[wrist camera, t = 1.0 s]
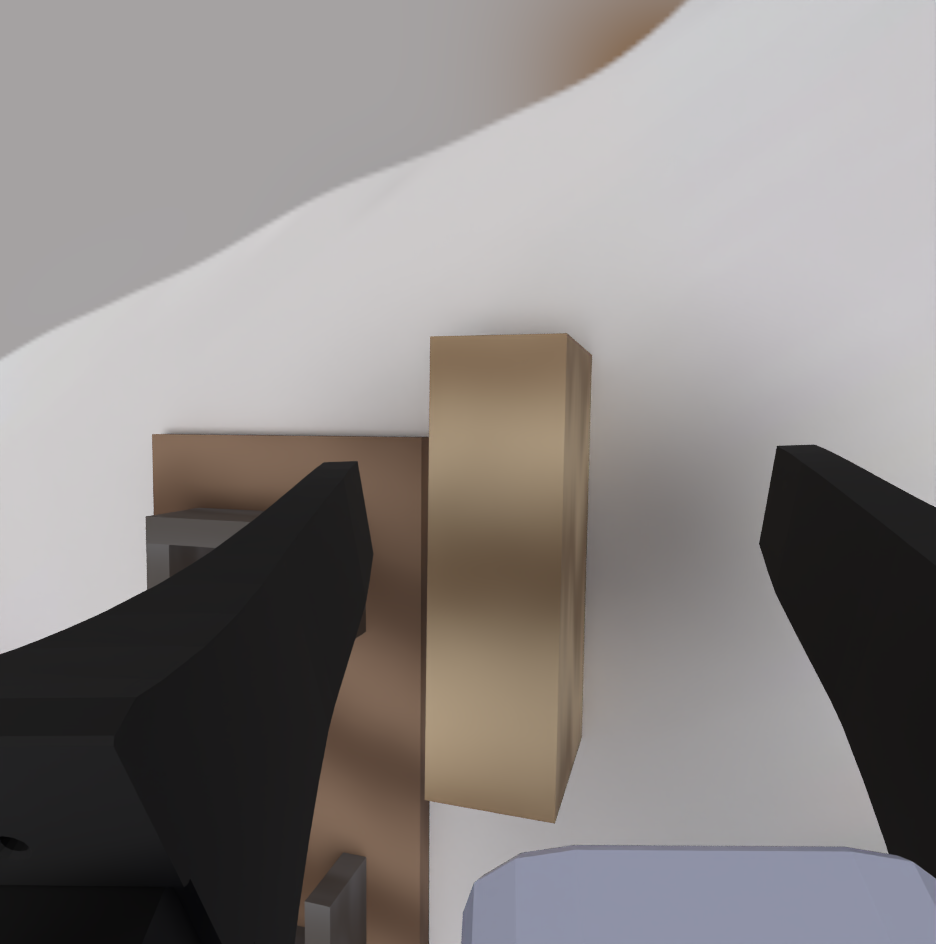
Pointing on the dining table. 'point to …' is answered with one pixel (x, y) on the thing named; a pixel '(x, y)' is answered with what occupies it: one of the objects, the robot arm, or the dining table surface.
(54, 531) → the dining table surface
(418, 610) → the bracket board
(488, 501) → the rail
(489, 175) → the dining table surface
